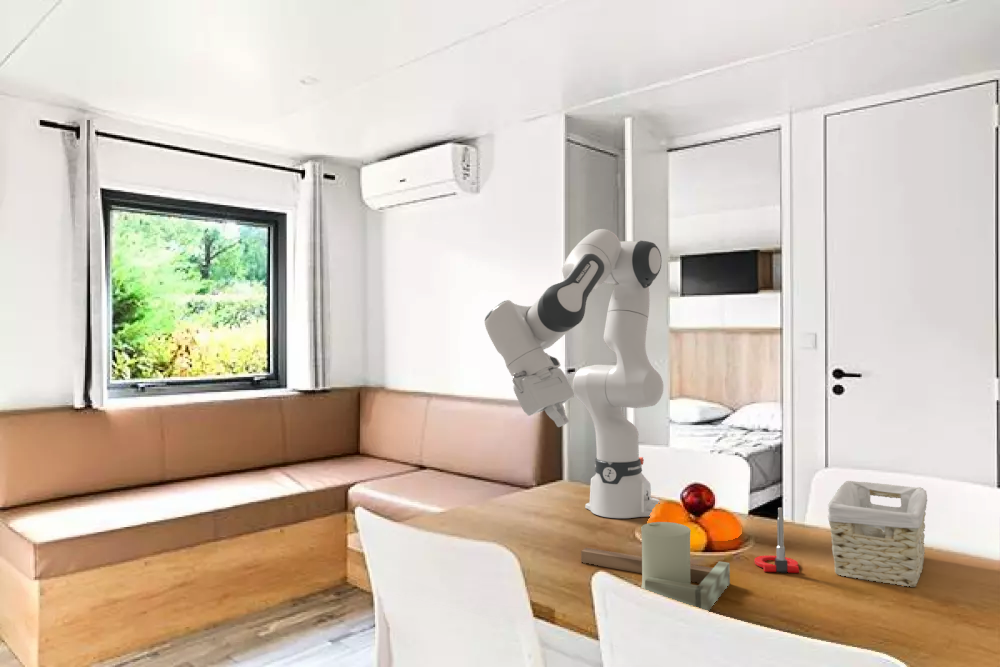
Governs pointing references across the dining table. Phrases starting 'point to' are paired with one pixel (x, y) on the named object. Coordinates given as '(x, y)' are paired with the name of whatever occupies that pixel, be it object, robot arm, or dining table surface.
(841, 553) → the storage basket
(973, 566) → the dining table surface
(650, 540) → the can
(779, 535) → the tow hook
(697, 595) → the rail stop
